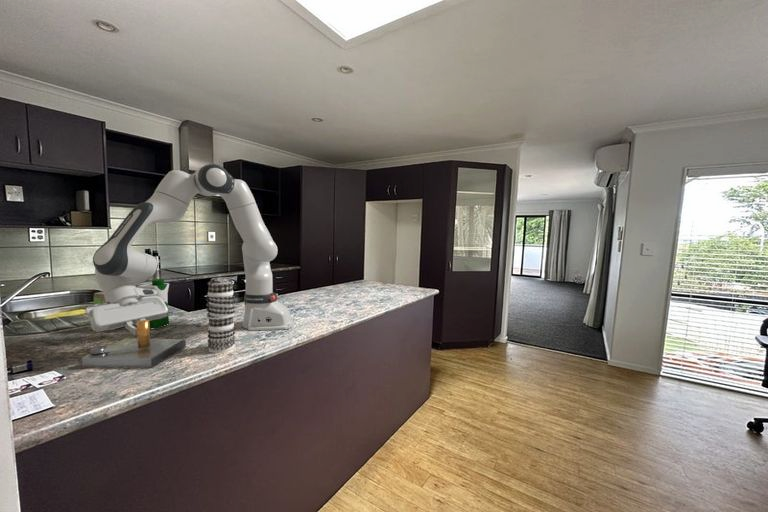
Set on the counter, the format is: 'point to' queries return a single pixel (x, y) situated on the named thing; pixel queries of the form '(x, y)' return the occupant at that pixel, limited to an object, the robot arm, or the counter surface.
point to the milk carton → (162, 293)
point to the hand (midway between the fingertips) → (140, 333)
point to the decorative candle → (220, 315)
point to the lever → (142, 342)
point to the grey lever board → (136, 354)
